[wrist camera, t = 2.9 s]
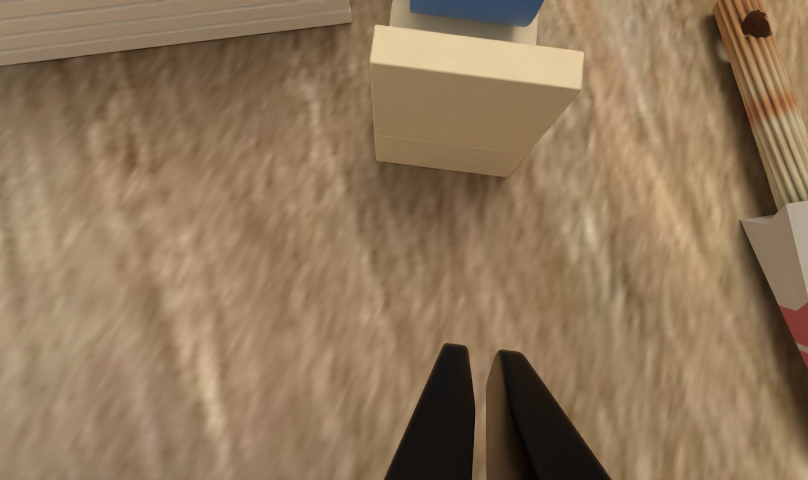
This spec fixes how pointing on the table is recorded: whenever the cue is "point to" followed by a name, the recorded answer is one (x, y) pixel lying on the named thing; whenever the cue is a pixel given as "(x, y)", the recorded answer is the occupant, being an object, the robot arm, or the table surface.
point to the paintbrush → (773, 157)
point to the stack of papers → (146, 23)
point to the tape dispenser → (466, 84)
